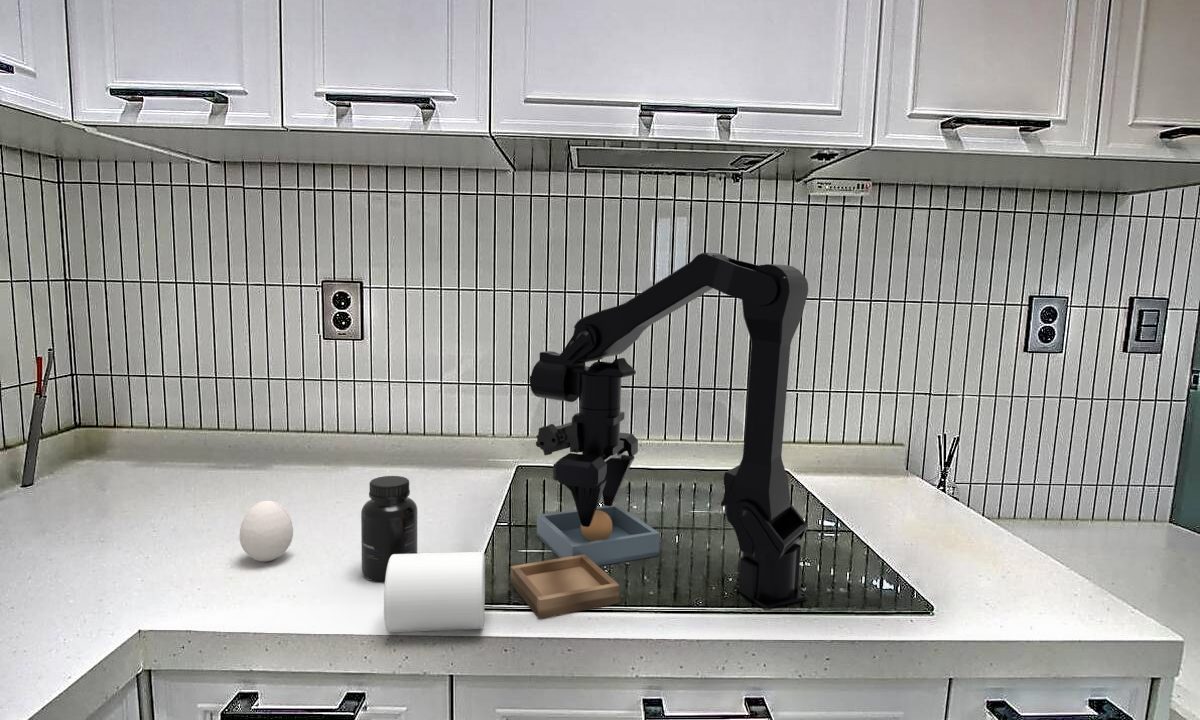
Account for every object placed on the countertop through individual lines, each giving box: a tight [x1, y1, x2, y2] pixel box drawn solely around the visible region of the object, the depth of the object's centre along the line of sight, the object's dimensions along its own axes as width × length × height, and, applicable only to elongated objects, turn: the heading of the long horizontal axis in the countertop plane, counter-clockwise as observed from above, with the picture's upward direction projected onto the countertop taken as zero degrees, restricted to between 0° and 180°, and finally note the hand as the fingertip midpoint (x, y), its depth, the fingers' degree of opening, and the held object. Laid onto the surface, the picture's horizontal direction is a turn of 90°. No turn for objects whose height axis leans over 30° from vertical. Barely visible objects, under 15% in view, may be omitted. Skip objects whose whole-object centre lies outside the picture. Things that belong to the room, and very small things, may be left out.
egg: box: [239, 500, 294, 562], centre depth 94 cm, size 6×6×8 cm
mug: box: [383, 551, 486, 633], centre depth 80 cm, size 12×10×8 cm
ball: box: [581, 510, 613, 541], centre depth 102 cm, size 4×4×4 cm
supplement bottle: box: [360, 475, 418, 583], centre depth 91 cm, size 7×7×12 cm
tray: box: [510, 554, 621, 620], centre depth 87 cm, size 10×10×2 cm
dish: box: [536, 503, 661, 567], centre depth 102 cm, size 13×13×3 cm
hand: (597, 515), depth 101 cm, fingers open, 9 cm apart
